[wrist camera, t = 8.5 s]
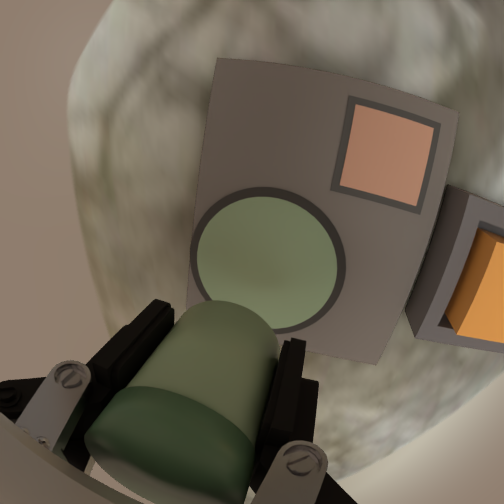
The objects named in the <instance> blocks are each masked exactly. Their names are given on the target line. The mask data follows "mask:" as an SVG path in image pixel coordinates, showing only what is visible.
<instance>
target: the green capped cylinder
mask: <svg viewBox="0 0 504 504" xmlns="http://www.w3.org/2000/svg"><path fill="white" fill-rule="evenodd" d="M279 357H280V347H279V343H278V340H277V337H276V335H275V333H274V332H273V330H272V328H271V327H270V326H269V325H268V323H267V322H266V321H265V320H264V319H262V318H261V317H260V316H259V315H258V314H256V313H255V312H253V311H252V310H250V309H248V308H246V307H244V306H242V305H239V304H236V303H232V302H228V301H220V300H212V301H205V302H201V303H198V304H196V305H194V306H192V307H190V308H189V309H188V310H187V311H186V312H184V314H183V315H182V316H181V317H180V319H179V320H178V321H177V322H176V324H175V325H174V326H173V328H172V329H171V330H170V331H169V333H168V334H167V335H166V336H165V338H164V339H163V340H162V342H161V343H160V344H159V345H158V347H157V348H156V349H155V350H154V352H153V353H152V354H151V356H150V357H149V358H148V359H147V361H146V362H145V363H144V365H143V366H142V367H141V368H140V370H139V371H138V372H137V374H136V375H135V376H134V378H133V379H132V380H131V381H130V383H129V384H128V385H127V387H126V388H124V389H122V390H120V391H119V392H118V393H116V395H115V396H114V397H113V398H112V400H111V401H110V402H109V403H108V405H107V406H106V407H105V409H104V410H103V411H102V412H101V414H100V415H99V416H98V418H97V419H96V420H95V421H94V423H93V424H92V425H91V427H90V428H89V429H88V431H87V432H86V433H85V435H84V442H85V445H86V448H87V450H88V451H89V453H90V455H91V456H92V457H93V459H94V460H95V461H96V462H97V463H98V464H99V466H100V467H101V468H102V469H103V470H105V471H106V472H107V473H108V474H109V475H110V476H111V477H112V478H114V479H115V480H116V481H118V482H119V483H121V484H122V485H123V486H125V487H126V488H128V489H129V490H131V491H132V492H134V493H136V494H137V495H139V496H141V497H143V498H145V499H147V500H149V501H151V502H153V503H155V504H244V501H245V498H246V495H247V491H248V488H249V485H250V481H251V478H252V474H253V471H254V467H255V464H256V460H257V459H256V452H255V445H256V441H257V438H258V434H259V431H260V427H261V424H262V420H263V417H264V413H265V409H266V406H267V402H268V398H269V394H270V391H271V387H272V383H273V379H274V375H275V371H276V368H277V364H278V360H279Z"/></svg>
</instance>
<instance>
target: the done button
mask: <svg viewBox="0 0 504 504" xmlns="http://www.w3.org/2000/svg"><path fill="white" fill-rule="evenodd" d="M444 313H445V314H446V316H447V318H448V320H449V322H450V323H451V325H452V327H453V329H454V331H455V333H456V335H461V336H466V337H472V338H477V339H483V340H488V341H494V342H500V343H504V237H502V236H500V235H497V234H495V233H492V232H489V231H487V230H484V229H481V228H478V227H477V230H476V234H475V237H474V240H473V243H472V245H471V248H470V251H469V254H468V257H467V259H466V262H465V265H464V267H463V270H462V272H461V275H460V277H459V280H458V282H457V285H456V287H455V289H454V292H453V294H452V296H451V299H450V301H449V303H448V305H447V307H446V310H445V312H444Z"/></svg>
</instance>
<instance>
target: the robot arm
mask: <svg viewBox="0 0 504 504" xmlns="http://www.w3.org/2000/svg"><path fill="white" fill-rule="evenodd" d="M173 326H174V309H173V308H171V305H170V303H167V302H164V301H161V300H158V299H155V300H153V301H152V302H151V303H150V304H149V305H148V306H147V307H146V308H145V309H144V310H143V311H142V312H141V313H140V314H139V315H138V316H137V317H136V318H135V319H134V320H133V321H132V322H131V323H130V324H129V325H125V326H124V327H122V328H121V329H120V330H119V331H118V332H117V333H116V334H115V335H114V336H113V337H112V338H111V339H110V340H109V341H108V342H107V343H106V344H105V345H104V346H103V347H102V348H101V349H100V350H99V351H98V353H96V354H95V355H94V356H93V357H92V358H91V360H90V361H89V362H88V363H87V364H86V365H85V364H83V363H81V362H79V361H74V360H70V361H64V362H61V363H59V364H57V365H56V366H55V367H54V368H53V369H52V370H51V371H50V373H49V374H48V375H47V377H41V378H32V379H19V380H7V381H2V382H0V504H143V503H141V502H139V501H137V500H134V499H132V498H130V497H128V496H126V495H124V494H122V493H120V492H118V491H116V490H114V489H112V488H110V487H108V486H107V485H104V484H103V483H101V482H99V481H97V480H96V479H94V478H92V477H90V473H91V471H92V468H93V466H94V463H95V460H94V459H93V457H92V456H91V455H90V453H89V451H88V450H87V448H86V445H85V442H84V435H85V433H86V432H87V431H88V429H89V428H90V427H91V425H92V424H93V423H94V421H95V420H96V419H97V418H98V416H99V415H100V414H101V412H102V411H103V410H104V409H105V407H106V406H107V405H108V403H109V402H110V401H111V400H112V398H113V397H114V396H115V395H116V393H118V392H119V391H120V390H122V389H124V388H126V387H127V385H128V384H129V383H130V381H131V380H132V379H133V378H134V376H135V375H136V374H137V372H138V371H139V370H140V368H141V367H142V366H143V365H144V363H145V362H146V361H147V359H148V358H149V357H150V356H151V354H152V353H153V352H154V350H155V349H156V348H157V347H158V345H159V344H160V343H161V342H162V340H163V339H164V338H165V336H166V335H167V334H168V333H169V331H170V330H171V329H172V328H173ZM306 342H307V341H305V340H301V339H296V338H292V337H291V340H290V341H287V340H284V343H283V346H282V350H281V353H280V357H279V360H278V364H277V368H276V371H275V375H274V379H273V383H272V387H271V391H270V394H269V398H268V402H267V406H266V409H265V413H264V417H263V420H262V424H261V427H260V431H259V434H258V438H257V441H256V445H255V452H256V459H257V460H256V464H255V467H254V471H253V474H252V478H251V481H250V485H249V486H250V487H251V489H252V490H253V491H254V492H255V494H256V495H255V497H254V498H253V500H252V502H251V504H357V503H356V502H355V501H354V500H353V499H352V498H351V497H350V496H349V495H348V494H347V493H346V492H345V491H344V490H343V489H342V488H341V487H340V486H339V485H338V484H337V483H336V482H335V481H334V479H333V478H332V477H331V476H330V475H329V474H328V473H327V472H326V471H327V467H328V459H327V456H326V454H325V453H324V451H323V450H322V449H321V448H320V447H319V446H317V445H315V444H313V436H314V427H315V418H316V409H317V399H318V388H319V382H318V381H314V380H310V379H305V378H302V371H303V364H304V357H305V350H306Z"/></svg>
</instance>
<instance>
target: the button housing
mask: <svg viewBox="0 0 504 504" xmlns="http://www.w3.org/2000/svg"><path fill="white" fill-rule="evenodd" d="M477 227H478V228H481V229H484V230H487V231H489V232H492V233H495V234H497V235H500V236H502V237H504V206H501V205H499V204H497V203H494V202H492V201H489V200H487V199H485V198H482V197H480V196H477V195H475V194H472V193H470V192H467V191H464V190H462V189H459V188H456V187H454V186H451V185H447V189H446V193H445V196H444V200H443V204H442V207H441V211H440V214H439V218H438V221H437V224H436V227H435V231H434V234H433V237H432V240H431V243H430V246H429V249H428V252H427V255H426V258H425V260H424V263H423V266H422V269H421V271H420V274H419V277H418V279H417V282H416V284H415V287H414V289H413V292H412V294H411V297H410V299H409V301H408V304H407V306H406V309H405V312H406V315H407V317H408V320H409V323H410V325H411V328H412V331H413V334H414V337H415V338H417V339H422V340H427V341H433V342H438V343H444V344H449V345H455V346H461V347H467V348H473V349H479V350H485V351H492V352H498V353H504V343H500V342H494V341H488V340H483V339H477V338H472V337H466V336H461V335H456V333H455V331H454V329H453V327H452V325H451V323H450V322H449V320H448V318H447V316H446V314H445V313H444V312H445V310H446V307H447V305H448V303H449V301H450V299H451V296H452V294H453V292H454V289H455V287H456V285H457V282H458V280H459V277H460V275H461V272H462V270H463V267H464V265H465V262H466V259H467V257H468V254H469V251H470V248H471V245H472V243H473V240H474V237H475V234H476V230H477Z"/></svg>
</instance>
